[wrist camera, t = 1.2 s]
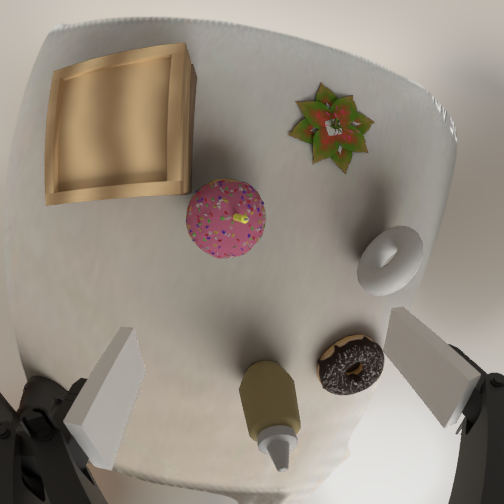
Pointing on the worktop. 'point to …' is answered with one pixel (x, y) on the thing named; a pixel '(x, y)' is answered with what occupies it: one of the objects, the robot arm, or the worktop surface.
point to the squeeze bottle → (271, 410)
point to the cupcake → (226, 218)
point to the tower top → (119, 126)
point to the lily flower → (321, 140)
